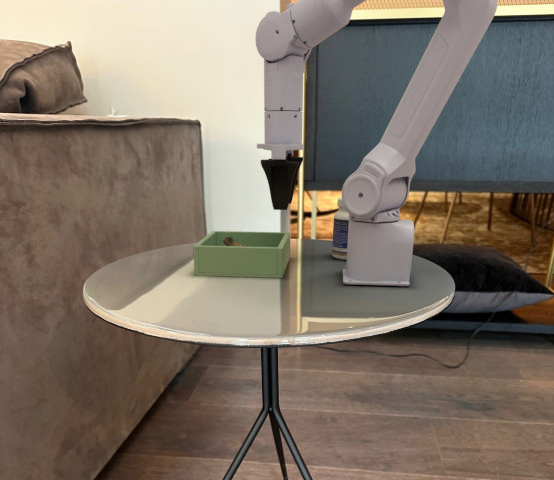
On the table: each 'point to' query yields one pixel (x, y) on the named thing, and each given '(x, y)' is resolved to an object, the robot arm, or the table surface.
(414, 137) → the robot arm
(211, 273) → the basket
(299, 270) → the table surface
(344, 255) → the pill bottle
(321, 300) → the table surface
